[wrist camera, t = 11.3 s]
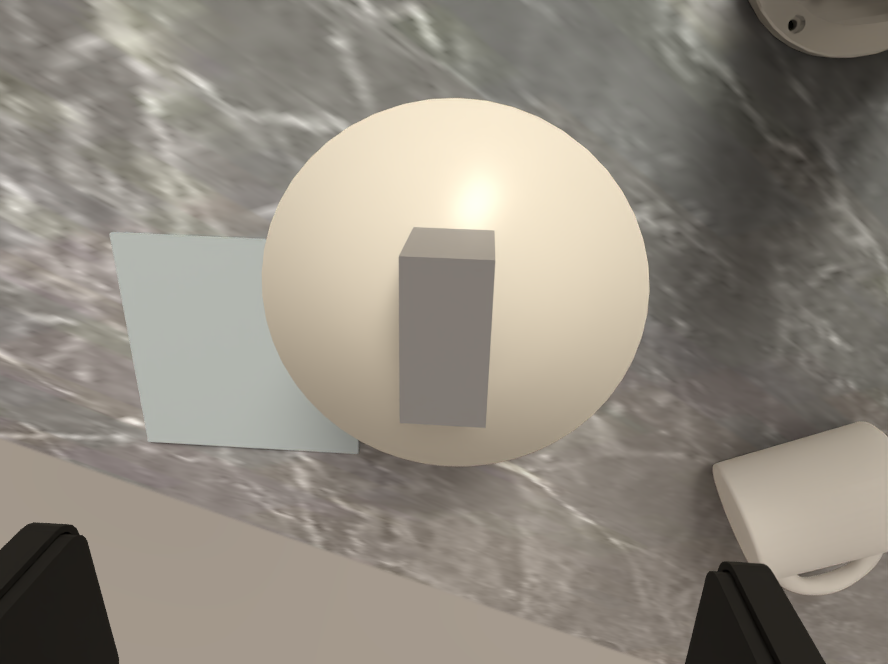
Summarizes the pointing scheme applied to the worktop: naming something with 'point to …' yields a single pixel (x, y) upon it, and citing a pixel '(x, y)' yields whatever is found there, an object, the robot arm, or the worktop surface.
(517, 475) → the worktop surface
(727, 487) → the mug
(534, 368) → the lid
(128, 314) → the mat
